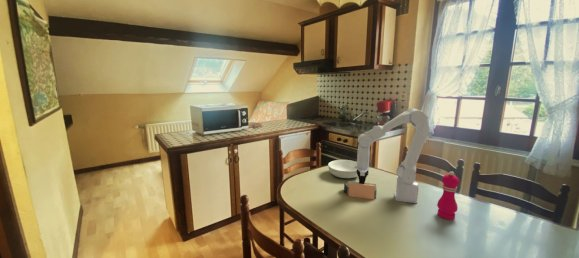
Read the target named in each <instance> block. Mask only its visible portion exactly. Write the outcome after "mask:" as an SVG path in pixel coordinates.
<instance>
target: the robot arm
mask: <svg viewBox="0 0 579 258" xmlns="http://www.w3.org/2000/svg"><path fill="white" fill-rule="evenodd" d="M428 120H429V117H428V115H427V114H426V113H425V111H423V110H421V109H420V110H419V109H417V108H413V107H412V108H409V109H407V110H405V111H402V112H401V113H400V114H399V115H397V116H395V117H394V118H392V119H391V120H389V121H388V122H385V124H383V125H378V124H377V125H374V126H373V127H372V129H371V128H370V130H368V131H364V133H361V134H359V135H358V137H357V143H358V144H357V156H356V162H357V166H354V168H357V175H358V176H357V178H358V182H359V184H364V183H366V179H367V177H368V176H369V170H370V156H371V155H370V153H371V150H370V149H371V145H372V143H375V142H376V141H378V140H380V139H381V138H383V137H385V136H386V134H387V132H389V131H390V130H392V129H394V128H396V127H398V126H400V125H401V124H409V125H410V124H412V126H413V128H414V129H415V131H414V133H413V136H412V139H411V141H410V144H409V147H408V150H407V151H406V152H407V153H406V155H405V158H404V160H403V161H401V162H400V165H399V166H398V167H397V168H396V174H397V175H398V177H397V178H396V187H395V188H396V189H395V192H394V193H393V194H394V195H393V196H394V199H395V201H397V202H404V203H405V202H406V203H413V204H418V199H419V198H418V197H419V183H418V182H416V178H417V176H416V173H417V162H418V161H419V159H420V158H419V157H420V156H421V154H422V150H423V147H424V146H425V142H426V140H427V137H428V135H429V132H430V125H429V121H428Z"/></svg>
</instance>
